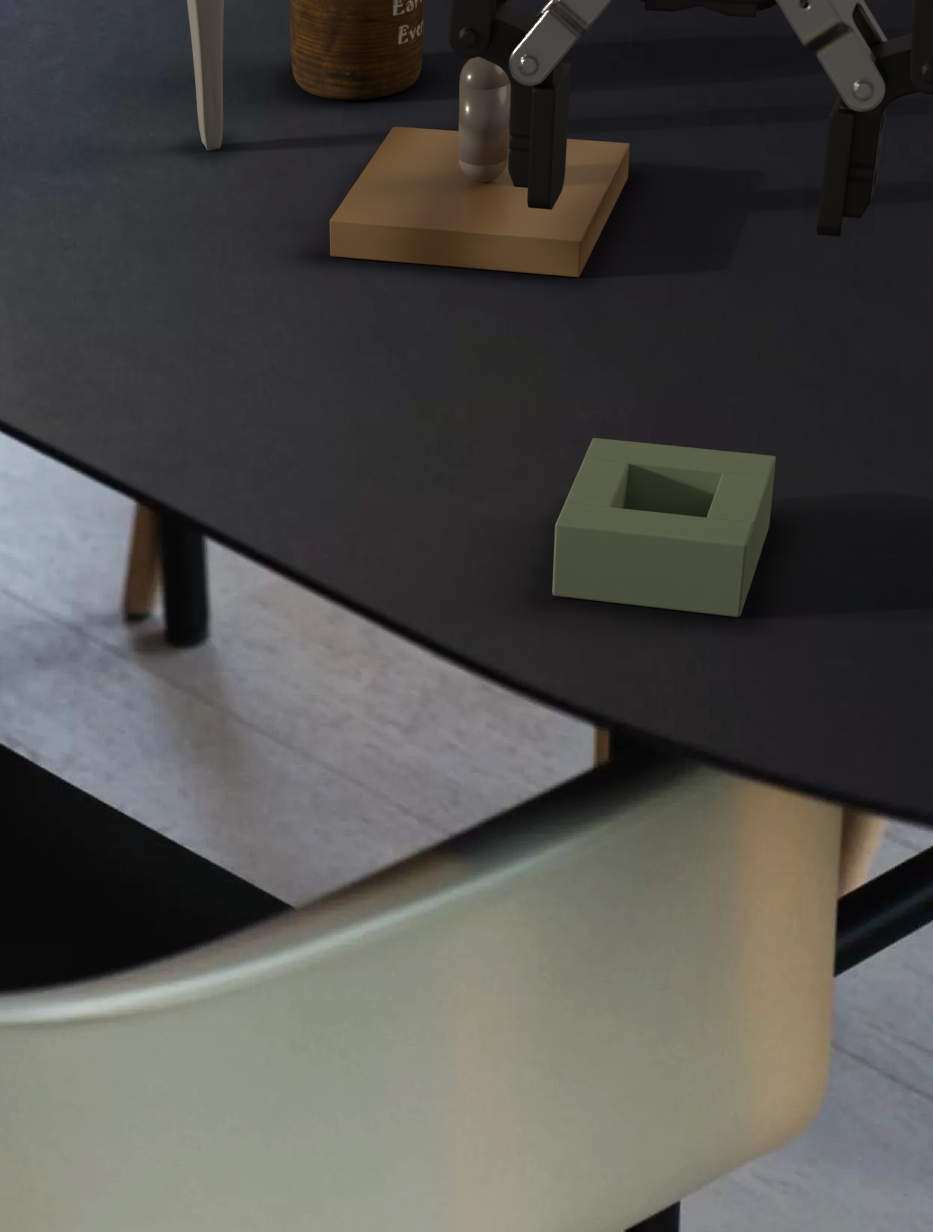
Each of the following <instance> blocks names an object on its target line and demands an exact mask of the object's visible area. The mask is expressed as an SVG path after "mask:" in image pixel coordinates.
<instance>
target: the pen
mask: <svg viewBox="0 0 933 1232" xmlns="http://www.w3.org/2000/svg"><path fill="white" fill-rule="evenodd" d="M186 3H187V9H188V10H187V11H188V12H187V13H188V22H189V30H190V38H191V47H192V48H191V50H192V57H193V58H192V59H193V60H192V61H193V71H194V80H195V94H196V95H195V96H196V109H197V110H196V111H197V112H196V113H197V121H198V130H199V134H200V139H201V143H202V144H203V146H204V147H205V149H206V151H208V152H210V151H215V150H220V148H221V147H222V141H223V132H224V131H223V130H224V129H223V128H224V91H223V90H224V87H223V84H224V83H223V82H224V81H223V77H224V76H223V75H224V73H223V72H224V71H223V70H224V69H223V67H224V62H223V61H224V17H225V16H224V13H225V12H224V11H225V0H186Z"/></svg>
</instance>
